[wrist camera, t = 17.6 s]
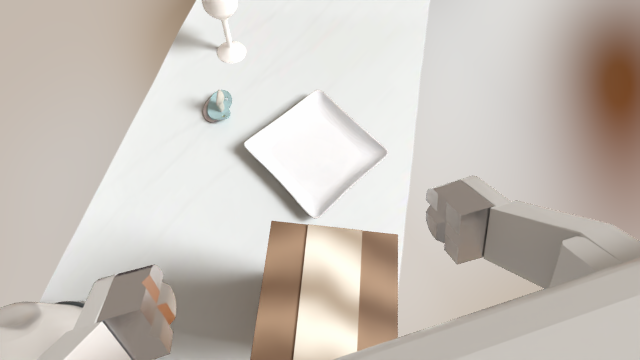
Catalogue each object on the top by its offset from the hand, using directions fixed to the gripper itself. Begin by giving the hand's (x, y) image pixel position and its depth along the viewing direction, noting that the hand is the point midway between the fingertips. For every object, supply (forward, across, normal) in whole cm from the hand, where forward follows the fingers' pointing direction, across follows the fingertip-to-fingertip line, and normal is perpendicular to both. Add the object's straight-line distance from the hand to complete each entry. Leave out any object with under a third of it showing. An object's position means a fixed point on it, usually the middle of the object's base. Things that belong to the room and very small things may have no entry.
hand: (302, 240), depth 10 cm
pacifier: (+66, -8, -15) cm, 68 cm away
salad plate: (+54, +9, -25) cm, 61 cm away
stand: (+31, +1, -42) cm, 52 cm away
